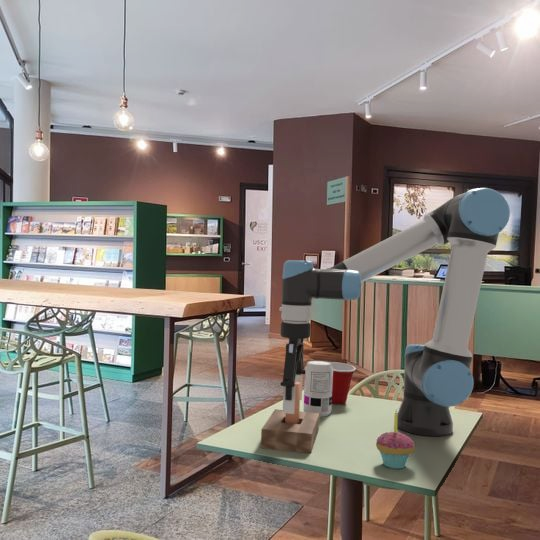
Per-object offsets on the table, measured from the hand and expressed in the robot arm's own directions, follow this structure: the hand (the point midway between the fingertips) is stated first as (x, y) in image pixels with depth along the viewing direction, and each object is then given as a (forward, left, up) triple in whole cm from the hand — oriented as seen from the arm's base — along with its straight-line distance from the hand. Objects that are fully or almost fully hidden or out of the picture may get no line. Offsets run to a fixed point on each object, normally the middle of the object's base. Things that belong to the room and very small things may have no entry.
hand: (292, 406), depth 136 cm
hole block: (0, 0, -8) cm, 8 cm away
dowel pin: (0, 0, -8) cm, 8 cm away
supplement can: (-4, -25, -8) cm, 27 cm away
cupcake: (-25, +11, -8) cm, 29 cm away
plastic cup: (-9, -40, -8) cm, 42 cm away
